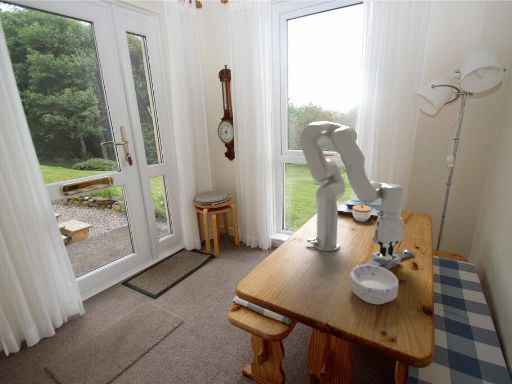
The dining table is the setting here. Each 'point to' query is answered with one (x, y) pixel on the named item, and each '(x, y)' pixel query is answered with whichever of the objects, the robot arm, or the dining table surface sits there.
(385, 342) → the dining table surface
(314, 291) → the dining table surface
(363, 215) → the lidded jar
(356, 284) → the paper bowls
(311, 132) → the robot arm
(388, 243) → the chess piece
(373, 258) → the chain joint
